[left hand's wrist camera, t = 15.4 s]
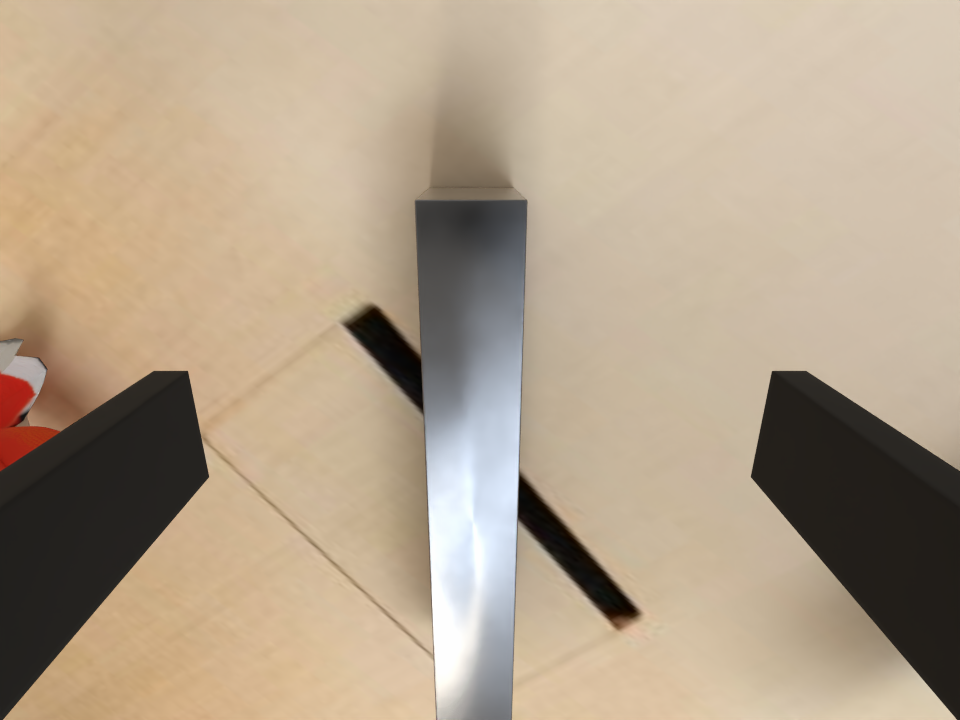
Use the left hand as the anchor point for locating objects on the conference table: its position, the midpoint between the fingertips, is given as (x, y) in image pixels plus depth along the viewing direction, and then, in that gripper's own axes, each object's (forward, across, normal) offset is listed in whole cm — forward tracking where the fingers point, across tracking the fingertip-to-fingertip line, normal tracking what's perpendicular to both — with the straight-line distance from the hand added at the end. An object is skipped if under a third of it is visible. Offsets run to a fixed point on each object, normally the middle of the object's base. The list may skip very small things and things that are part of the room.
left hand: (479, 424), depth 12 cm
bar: (+22, 0, -12) cm, 25 cm away
